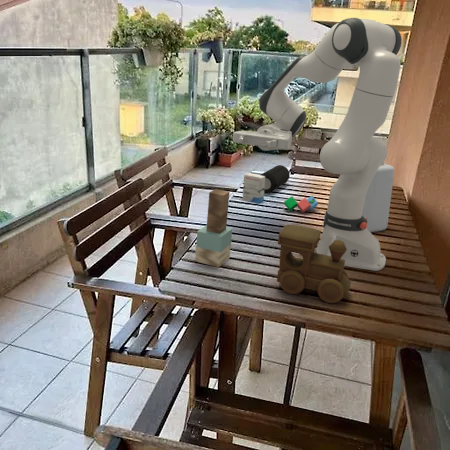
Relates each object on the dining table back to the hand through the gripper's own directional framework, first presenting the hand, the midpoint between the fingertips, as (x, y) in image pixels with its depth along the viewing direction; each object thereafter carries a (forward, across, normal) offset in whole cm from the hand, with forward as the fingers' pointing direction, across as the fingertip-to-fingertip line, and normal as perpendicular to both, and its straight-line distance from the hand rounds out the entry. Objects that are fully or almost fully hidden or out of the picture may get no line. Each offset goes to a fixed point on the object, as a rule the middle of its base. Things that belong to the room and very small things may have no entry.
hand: (253, 142), depth 147 cm
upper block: (+23, -2, +29) cm, 37 cm away
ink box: (-42, -14, +33) cm, 55 cm away
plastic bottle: (-37, +35, +34) cm, 61 cm away
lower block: (+24, -2, +34) cm, 41 cm away
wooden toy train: (+27, +30, +34) cm, 53 cm away
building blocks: (-41, +8, +34) cm, 53 cm away
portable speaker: (-67, -14, +33) cm, 76 cm away
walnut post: (+23, -1, +24) cm, 33 cm away
